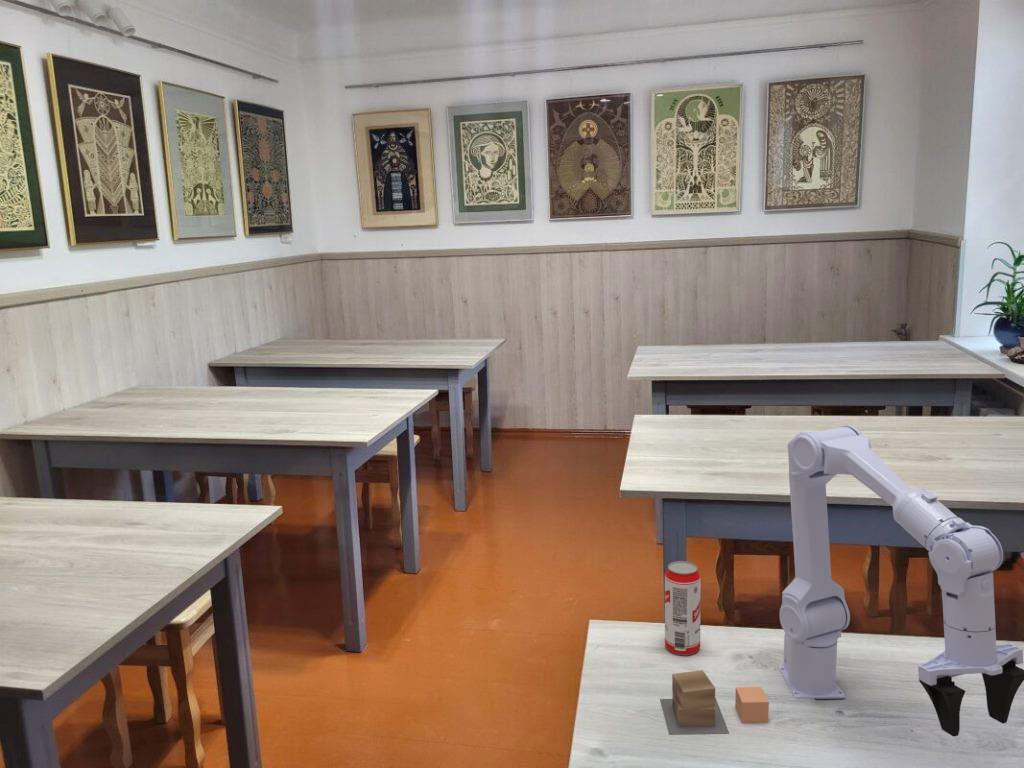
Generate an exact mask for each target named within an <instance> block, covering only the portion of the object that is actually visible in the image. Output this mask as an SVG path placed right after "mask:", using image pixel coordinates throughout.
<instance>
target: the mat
mask: <svg viewBox="0 0 1024 768" xmlns="http://www.w3.org/2000/svg"><path fill="white" fill-rule="evenodd" d="M659 701H660V705H661V710H662V713H663V718H664V720H665V724H666V728H667V729H666V730H667V732H668V735H669V736H681V735H684V736H685V735H730V732H729V729H728V726H727V724H726V721H725V719H724V715H723V713H722V711H721V708H720V706H719V703H718V700H717V698H716V697H715V706H714V707H715V726H711V727H679V726H678V723H677V719H676V716H675V712H674V709H673V705H672V698H659Z"/></svg>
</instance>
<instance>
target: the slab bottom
mask: <svg viewBox="0 0 1024 768" xmlns="http://www.w3.org/2000/svg"><path fill="white" fill-rule="evenodd" d="M671 692H672V695H671V696H672V697H671V699H672V705H673V709H674V712H675V716H676V719H677V723H678V726H679V727H711V726H715V707H714V706H710V707H703V708H695V709H687V710H683V708H682V706H681V705H680V703H679V701H678V700H677V698H676V696H675V695H674V693H673V691H672V690H671Z"/></svg>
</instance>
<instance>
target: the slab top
mask: <svg viewBox="0 0 1024 768" xmlns="http://www.w3.org/2000/svg"><path fill="white" fill-rule="evenodd" d="M671 675H672V677H671V679H672V680H671V681H672V682H671V687H672V688H671V692H672V691H673V693H674V695H675V696H676V698H677V700H678V701H679V703H680V705H681V706H682V708H683V710H687V709H695V708H703V707H710V706H715V698H716V687H715V686H714V684H713V682H711V680H710V678H709V677H708V675H707V674H706V673H705V671H704V670H703V669H701V670H692V671H685V672H677V673H672V674H671Z"/></svg>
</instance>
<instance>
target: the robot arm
mask: <svg viewBox="0 0 1024 768" xmlns="http://www.w3.org/2000/svg"><path fill="white" fill-rule="evenodd" d="M871 446H872V445H871V440H870V438H869V437H867V436H866V435H864V434H862V432H861V431H860V430H859V429H858V428H856V427H854V426H853V425H849V424H848V425H847V424H846V425H841V426H840V427H833V428H828V429H823V430H816V431H810V432H808V431H806V432H804V431H803V432H800V433H798V434H796V435H795V436H794V437H793V438H792V439H791V440H790V441H788V443H787V453H788V455H787V456H788V468H789V469H788V480H789V481H788V482H789V495H790V499H789V500H790V509H791V527H792V542H793V557H794V559H793V561H794V573H795V574H794V575H795V576H794V579H793V580H792V581H791V582H790V583H789V584H788V586H786V587H785V589H784V590H783V591H782V592H781V598H782V599H781V600H782V602H781V606H780V608H779V621H780V625H781V628H782V630H783V632H784V636H783V637H784V640H783V664H782V663H781V664H778V665H777V669H778V671H779V672H780V674H781V675H782V677H783V679H784V682H786V685H787V686H788V688H789V690H790V692H791V694H792V696H793V697H794V698H795V699H815V700H820V699H823V700H824V699H825V700H826V699H845V696H846V694H845V693H844V691H843V690H842V689H841V687H840V685H839V684H838V683H837V682H838V681H837V679H836V675H837V656H838V655H837V653H838V639H840V638H842V631H843V630H846V629H847V628H848V626H849V625H850V621H851V614H850V610H849V607H848V604H847V601H846V599H845V590H844V588H843V586H841V585H840V584H838V583H837V582H836V581H835V580H833V579H832V569H831V568H832V565H831V552H830V549H831V547H830V535H829V532H830V531H829V517H828V502H827V484H828V483H829V482H830V481H831V480H833V478H835V477H836V476H837V475H846V476H847V475H849V476H852V477H853V478H855V479H856V480H858V481H859V482H860V483H861V484H863V485H864V486H865V487H867V488H868V490H870V491H872V492H873V493H874V494H876V495H877V496H878V497H880V499H883V501H884V502H886V503H887V504H888V505H890V506H891V507H892V517H893V519H894V521H895V522H896V523H897V524H898V525H900V526H901V527H902V528H903V529H904V530H905V531H906V532H907V533H908V534H910V535H911V536H912V538H914V539H915V540H916V541H917V542H918V543H919V544H920V545H921V546H923V548H925V549H926V550H927V551H928V557H929V562H930V564H931V566H932V568H933V569H934V571H935V572H936V576H937V583H938V585H939V586H940V587H939V588H940V590H941V593H942V594H941V596H942V597H941V598H942V612H943V614H942V615H943V616H942V617H943V632H944V633H943V635H944V651H943V652H941V653H940V654H938V655H937V656H935V657H933V658H931V659H930V660H928V661H926V662H924V663H921V664H918V665H917V668H918V669H917V670H918V671H917V672H918V681H919V683H920V684H921V685H922V687H923V689H924V690H925V692H926V693H927V695H928V697H929V699H930V701H931V703H932V706H933V707H934V710H935V713H936V715H937V718H938V722H939V725H940V728H941V730H942V731H943V732H945V733H947V735H948V734H949V735H950V736H952V737H958V736H959V734H960V728H961V727H960V725H961V723H960V715H961V713H960V712H961V705H962V703H963V702H962V701H963V698H964V695H965V693H966V690H965V689H963V688H962V687H959V686H958V685H956V684H955V681H953V678H956V677H959V676H963V675H970V674H971V675H975V674H981V676H982V679H983V682H984V683H983V684H984V688H985V696H986V697H985V698H986V707H987V712H988V716H989V718H991V719H993V720H995V721H998V722H999V723H1001V724H1007V722H1008V719H1009V715H1010V711H1011V707H1012V704H1013V702H1014V698H1015V697H1016V694H1017V693H1018V690H1019V689H1020V686H1021V685H1022V684H1023V682H1024V669H1023V668H1022V667H1019V666H1017V665H1021V664H1024V653H1023V650H1024V649H1023V648H1021V647H1019V646H1017V645H1014V644H1011V643H1006V644H997V632H996V607H995V586H994V572H993V571H995V570H997V569H999V568H1000V567H1001V565H1002V564H1003V561H1004V550H1003V547H1002V544H1001V542H1000V541H999V539H998V538H997V536H995V534H993V533H992V531H991V530H990V528H987V527H986V526H982V525H973V524H971V523H970V522H968V521H967V522H966V521H965V520H964V519H962V518H961V517H958V516H957V515H956V514H955V513H953V512H952V511H951V510H950V509H949V508H948V507H946V506H945V505H944V504H943V503H942V502H940V501H939V500H938V498H939V497H938V496H937V495H936V494H935V493H933V492H932V491H928V490H925V489H912V488H911V487H909V485H907V483H906V482H905V481H903V480H902V479H901V477H900V476H898V474H897V473H896V472H895V471H893V470H892V469H891V468H890V467H889V465H888V464H886V463H885V462H884V460H882V459H881V458H880V456H879V455H877V454H876V453H875V451H873V450H872V449H871V448H872V447H871Z"/></svg>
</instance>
